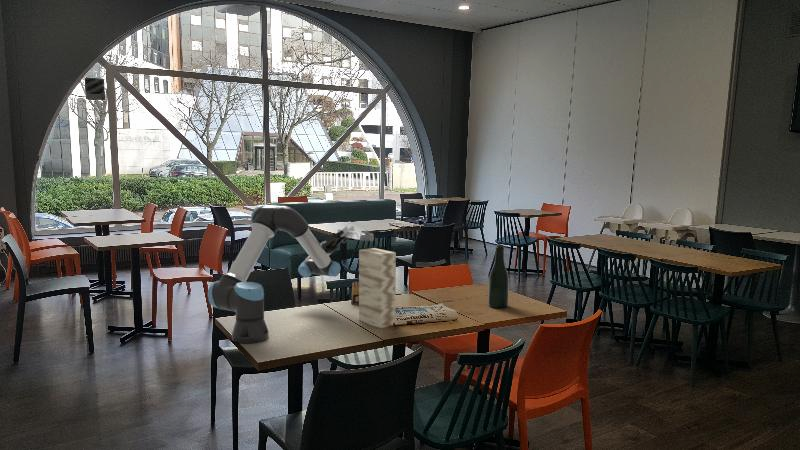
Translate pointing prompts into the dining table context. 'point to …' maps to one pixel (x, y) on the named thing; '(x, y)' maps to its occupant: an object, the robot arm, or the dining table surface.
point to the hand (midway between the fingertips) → (350, 228)
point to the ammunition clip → (355, 294)
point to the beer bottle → (498, 281)
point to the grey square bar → (359, 235)
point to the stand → (377, 287)
